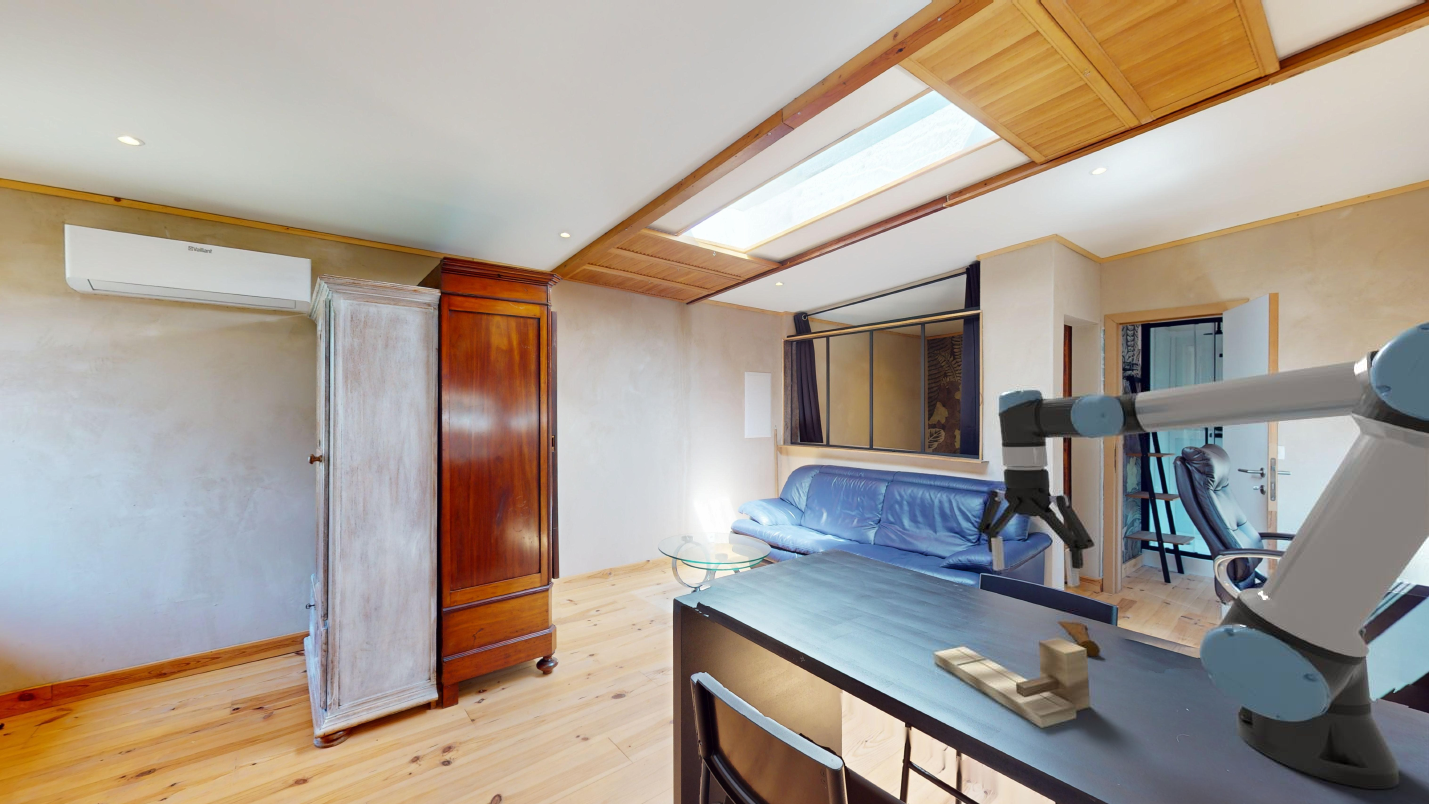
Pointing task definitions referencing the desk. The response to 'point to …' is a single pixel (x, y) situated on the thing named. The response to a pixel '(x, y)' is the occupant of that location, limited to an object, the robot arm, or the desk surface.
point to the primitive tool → (1081, 637)
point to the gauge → (1060, 673)
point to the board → (1005, 687)
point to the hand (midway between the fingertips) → (1034, 577)
